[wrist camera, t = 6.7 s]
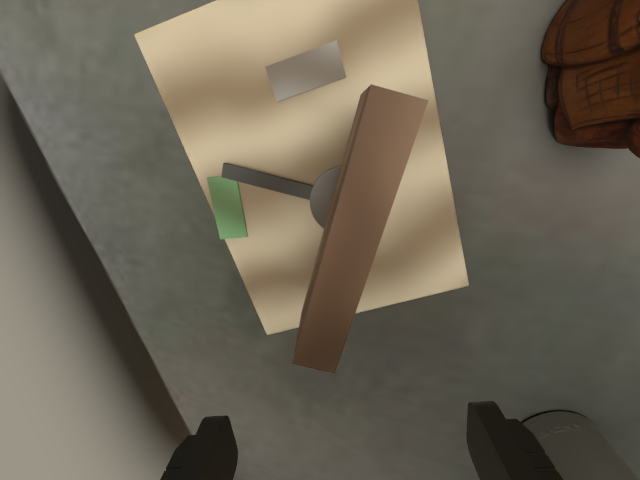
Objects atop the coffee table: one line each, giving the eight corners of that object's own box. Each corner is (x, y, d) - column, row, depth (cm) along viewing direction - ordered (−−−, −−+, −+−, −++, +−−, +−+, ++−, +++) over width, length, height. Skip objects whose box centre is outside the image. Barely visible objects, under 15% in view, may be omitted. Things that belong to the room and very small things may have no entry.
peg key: (405, 114, 19) (462, 109, 11) (350, 284, 24) (359, 379, 15) (239, 68, 19) (161, 25, 10) (213, 250, 23) (141, 328, 14)
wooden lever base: (446, 258, 28) (469, 286, 23) (275, 302, 31) (263, 337, 26) (388, -34, 21) (404, -80, 16) (171, 52, 24) (128, 35, 19)
